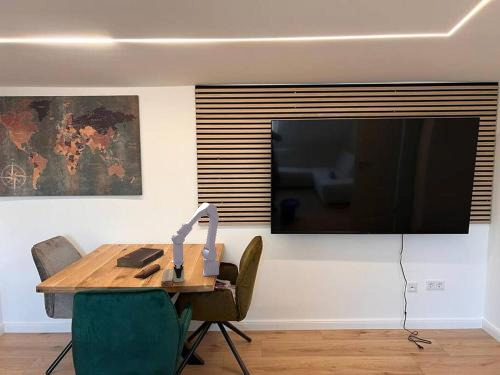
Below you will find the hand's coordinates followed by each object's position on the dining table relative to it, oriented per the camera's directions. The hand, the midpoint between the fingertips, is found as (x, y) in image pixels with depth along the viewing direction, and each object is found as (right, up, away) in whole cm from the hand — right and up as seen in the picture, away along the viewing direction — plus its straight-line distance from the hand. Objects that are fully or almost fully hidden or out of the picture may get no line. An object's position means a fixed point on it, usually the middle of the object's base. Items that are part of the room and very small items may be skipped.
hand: (178, 276), depth 179 cm
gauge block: (0, -2, 0) cm, 2 cm away
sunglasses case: (-23, -2, +12) cm, 26 cm away
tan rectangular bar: (-7, -2, +3) cm, 8 cm away
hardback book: (-35, 0, +38) cm, 52 cm away
